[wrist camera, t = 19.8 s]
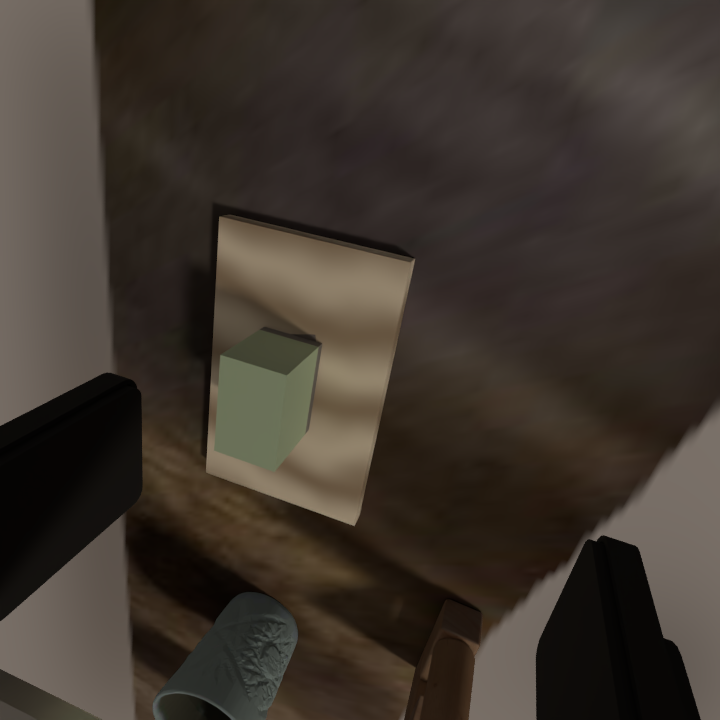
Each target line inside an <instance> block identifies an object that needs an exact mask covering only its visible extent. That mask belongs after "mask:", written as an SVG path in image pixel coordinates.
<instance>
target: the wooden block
mask: <svg viewBox="0 0 720 720" xmlns="http://www.w3.org/2000/svg"><path fill="white" fill-rule="evenodd" d="M482 622H483V614H482V613H481V612H479V611H476V610H474V609H472V608H469V607H467V606H464V605H462V604H460V603H457V602H455V601H453V600H450V599H446V600H445V602H444V604H443V607H442V609H441V611H440V614H439V616H438V618H437V621H436V623H435V625H434V627H433V630H432V632H431V634H430V637H429V639H428V641H427V644H426V646H425V649H424V651H423V653H422V655H421V657H420V660H419V662H418V664H417V667H416V669H415V674H414V678H413V682H412V687H411V691H410V696H409V700H408V705H407V709H406V714H405V718H404V720H468V719H469V709H470V701H471V692H472V682H473V674H474V665H475V658H474V656H475V654H476V652H477V650H478V648H479V646H480V641H481V631H482Z"/></svg>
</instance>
